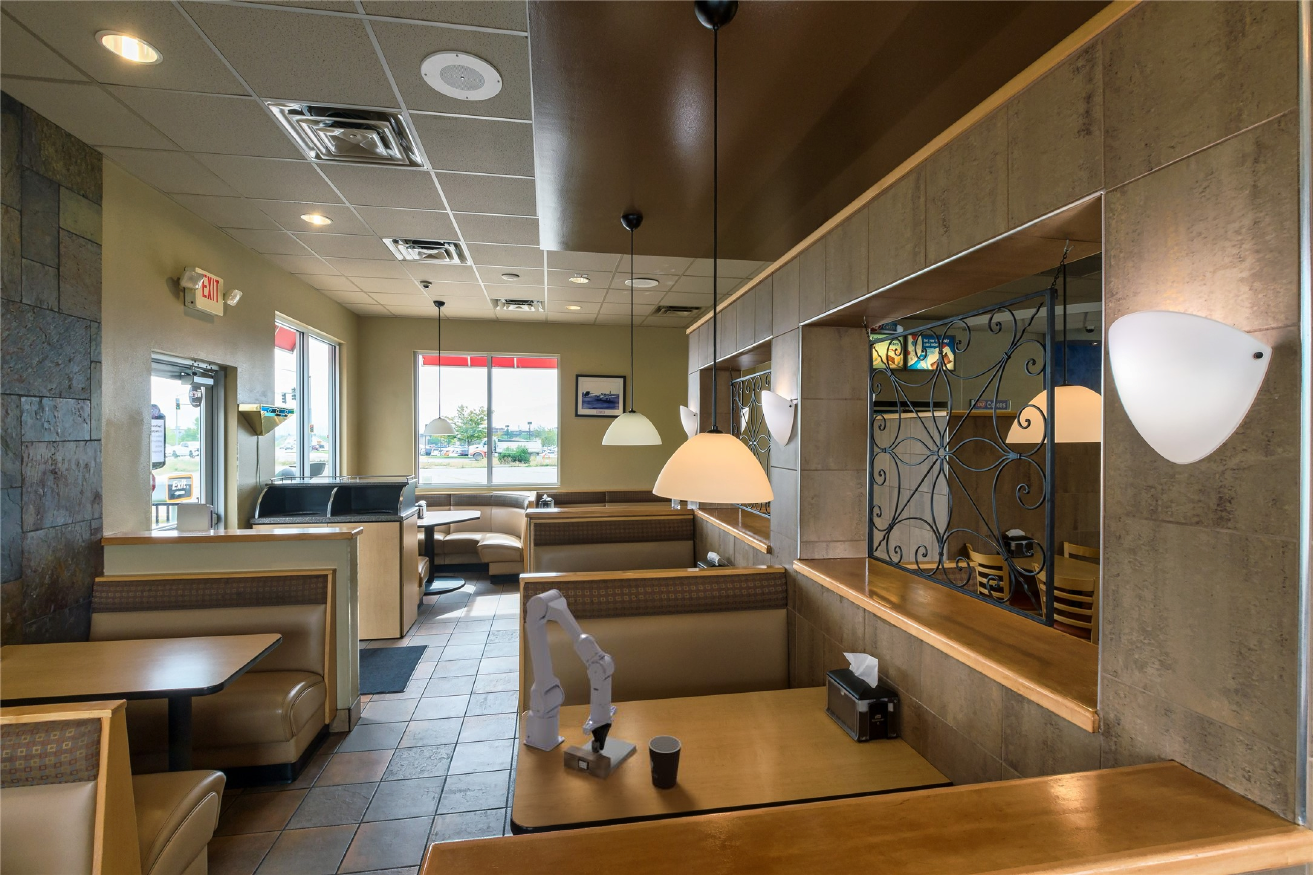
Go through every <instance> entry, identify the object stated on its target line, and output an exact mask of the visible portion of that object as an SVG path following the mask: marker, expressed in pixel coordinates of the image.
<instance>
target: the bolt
mask: <svg viewBox="0 0 1313 875" xmlns="http://www.w3.org/2000/svg"><path fill="white" fill-rule="evenodd" d="M592 739H593V738H592ZM592 739H591V740H592ZM591 751H592V752H595V753H598V754H599V753H601V751H600V750H599V740H598V739H593V740H592V745H591ZM579 767H582V768H585V769H587V768H588V767H589V762H587V761H584V760H579Z"/></svg>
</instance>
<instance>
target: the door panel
mask: <svg viewBox="0 0 1313 875" xmlns="http://www.w3.org/2000/svg"><path fill="white" fill-rule="evenodd" d="M593 739H594V737H593V738H592V739H590V740H589V741H588V742H587V743H585V744H584V745H583V746H582V747H581V748H582V749H585V750H589V751H591V745H592V740H593ZM636 750H637V744H634V743H631V742H627V741H625V740H621V739H617V738H614V737H611V736H608V735H607V738H606V741H605V746H604V750H602V751H601V750H600V751H601V753H599V754H601V755H604V756H607V757H610V758H611V773H612V772H614V771H615V770H616V769H617V768H618V767H619V766H620V765H621V764H622V763H623V762H624V761H625V760H626V759H627V758H629V756H631V755H632V753H634V752H635V751H636Z"/></svg>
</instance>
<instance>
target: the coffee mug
mask: <svg viewBox="0 0 1313 875" xmlns="http://www.w3.org/2000/svg"><path fill="white" fill-rule="evenodd" d="M681 749H682V742H681V741H680V739H678V738H677V737H674V736H672V735H665V734H663V735H657V736H654V737H652V738H650V740H648V752H649V764H650V774H651V784H652V786H653V787H655V788H656V789H659V790H671V789H673V788H674V787H675V786H676V785H677V780H678V779H677V778H678V772H679V771H678V770H679V766H680V765H679V764H680V758H681Z"/></svg>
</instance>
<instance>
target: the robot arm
mask: <svg viewBox="0 0 1313 875" xmlns="http://www.w3.org/2000/svg"><path fill="white" fill-rule="evenodd" d="M525 606H526V610H527V614H526V617H525V623H526V624H525V625H526V630H527V636H528V644H529V649H530V650H529V651H530V655H531V656H530V657H531V661H532V662H531V663H532V670H533V676H534V683H533V684H532V686H531V688H530V691H529V694H530V699H529V705H528V706H529V709H530V710H529V712H528V713H527V715H526V718H525V730H524V731H525V733H524V734H525V736H524V739H525V740H524V741H523V744H524V745H527V746H529V747H530V746H531V747H533V748H535V749H539V750H543V751H545V752H550V751H551V750H552V749H554V748H555V747H557V746H558V745H559V744H561V743H562V742H563V741H564V740H565V737H564V736H561V735H560V734H559V732H560V709H561V704H563V702H564V701H565V691H564V689H563V688H562V686H561V682H560V679H559V678H557V677H555V676H554V672H553V671H554V669H553V664H552V663H553V662H552V656H551V651H550V645H549V644H550V643H549V639H548V633H547V626H546V624H547V621H555V622H557V623H558V624H559V625H560V626H561V627H562V629H563V630H564V631H565V632H566V633H567V635H568V636H569V638H571V640H572V641H573V650H574V651H575V652H576V653H577V655H578V656H579V657H580V659H581V660H582V662H583V663H584V664H585V666H586V667H587V669H586V673H587V676H588V679H589V681H590V682H589V685H590V710H589V711H590V714H589V716H588V718H587V720H586V723H585V724H584V725H583V726H582V735H585V736H590V735H591V734H592V737H593V738H594V739H598V740H599V750H601V751H602V750H604V746H605V741H606V738H607V736H608V734H609V732H610V730H611V729H612V724H613V722H615V718H614V717H613V716H614V715H616V714H617V713H618V711H617V710H618V708H617V706H614V705H612V674H613V673H614V672H615V671H616V670H615V669H616V663H615V660H614V658H613V657H612V656H611V655H610V654H608V653H605V651H602V649H601V647H599V645H598V644H597V643H596V639H595V638H594V637H593V636H592V635H591V634H587V633H584V632H583V630H582V628H581V627H580V625H579V624H578V623H577V620H576V618H575V617H574V616H573V614H572V613H571V611H570V609H569V608H568V604H567V600H566V598H565V597H564V596H563V594H562V593H561V592H560V591H559V590H558V589H555V588H554V589H550V590H549V591H546V592H543V593H540V594H538V595H534V596H532V597H531V598H530V599H529V600H528V601H527V603H526V605H525Z"/></svg>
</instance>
